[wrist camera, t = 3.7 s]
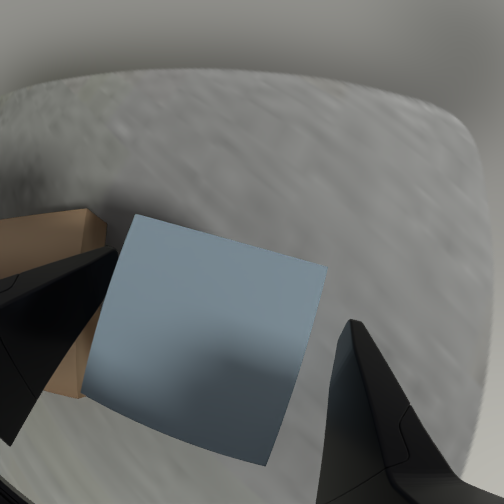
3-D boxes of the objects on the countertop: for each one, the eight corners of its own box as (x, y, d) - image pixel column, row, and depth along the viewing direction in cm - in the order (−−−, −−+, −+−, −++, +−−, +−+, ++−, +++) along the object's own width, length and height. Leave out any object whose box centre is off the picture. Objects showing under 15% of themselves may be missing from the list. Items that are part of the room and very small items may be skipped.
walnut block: (104, 390, 15) (78, 398, 12) (-1, 365, 16) (-29, 366, 13) (110, 226, 18) (86, 208, 15) (7, 234, 18) (-18, 222, 15)
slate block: (266, 394, 15) (265, 466, 6) (174, 364, 15) (80, 392, 7) (294, 302, 16) (328, 267, 7) (202, 275, 16) (135, 213, 8)
